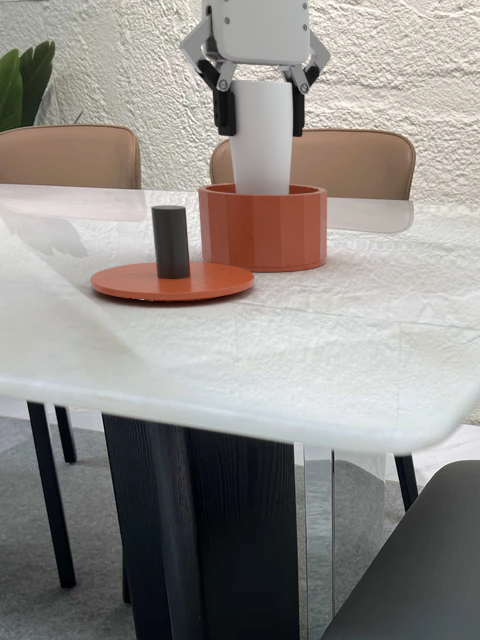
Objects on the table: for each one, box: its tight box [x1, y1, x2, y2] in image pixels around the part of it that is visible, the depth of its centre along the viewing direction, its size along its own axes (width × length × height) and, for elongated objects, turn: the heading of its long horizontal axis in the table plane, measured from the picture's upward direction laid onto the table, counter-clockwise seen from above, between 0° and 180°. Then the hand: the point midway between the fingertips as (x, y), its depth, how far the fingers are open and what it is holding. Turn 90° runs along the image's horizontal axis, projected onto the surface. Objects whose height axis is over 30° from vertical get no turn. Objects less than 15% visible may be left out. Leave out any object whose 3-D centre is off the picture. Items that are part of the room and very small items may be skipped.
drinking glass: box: [228, 79, 294, 195], centre depth 81 cm, size 7×7×15 cm
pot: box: [197, 182, 328, 273], centre depth 84 cm, size 14×14×8 cm
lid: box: [90, 204, 255, 303], centre depth 70 cm, size 15×15×7 cm
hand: (260, 134), depth 80 cm, fingers closed on drinking glass, 6 cm apart
